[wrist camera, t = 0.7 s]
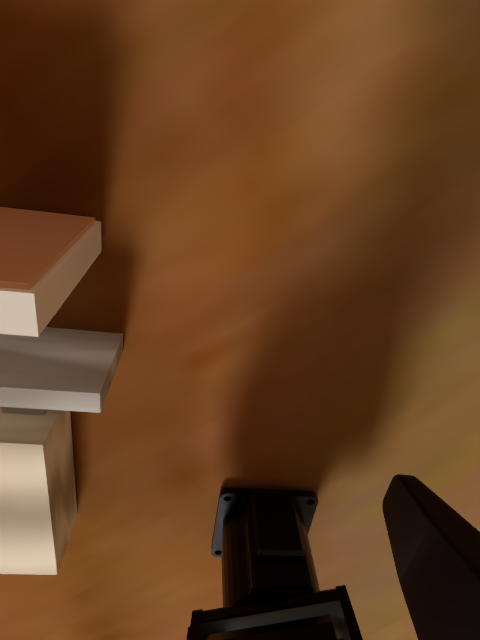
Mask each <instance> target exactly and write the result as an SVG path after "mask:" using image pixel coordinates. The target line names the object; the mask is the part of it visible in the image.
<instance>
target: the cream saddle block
mask: <svg viewBox="0 0 480 640" xmlns="http://www.w3.org/2000/svg"><path fill="white" fill-rule="evenodd" d="M122 351H123V333H112V332H100V331H88V330H76V329H64V328H52V327H45V329H44V330H43V331H42V333H41V334H40V335H39V337H35V336H22V335H10V334H0V574H42V575H57V574H58V571H59V568H60V565H61V562H62V559H63V556H64V553H65V550H66V547H67V544H68V540H69V537H70V534H71V531H72V528H73V525H74V522H75V519H76V516H77V503H76V488H75V474H74V459H73V444H72V430H71V415H70V411H80V412H96V413H101V410H102V407H103V404H104V402H105V399H106V396H107V393H108V390H109V388H110V385H111V382H112V379H113V376H114V374H115V371H116V368H117V365H118V362H119V360H120V357H121V354H122Z"/></svg>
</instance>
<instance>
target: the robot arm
mask: <svg viewBox="0 0 480 640" xmlns="http://www.w3.org/2000/svg"><path fill="white" fill-rule="evenodd" d="M317 504H318V499H317V495H316V493H314V492H305V491H282V490H258V489H234V488H226V489H223V490H222V491H221V492H220V495H219V502H218V508H217V514H216V521H215V527H214V533H213V540H212V546H211V553H212V555H213V556H215V557H222V587H223V608H217V609H211V610H205V611H203V610H202V609H200V610H194V611H192V618H191V625H190V627H188V633H187V640H363V639H362V636H361V633H360V630H359V627H358V623H357V620H356V617H355V614H354V611H353V608H352V605H351V602H350V599H349V596H348V593H347V589H346V586H345V585H342V586H336V589H330V590H324V591H320V589H319V584H318V580H317V576H316V571H315V567H314V562H313V558H312V553H311V549H310V544H309V540H308V532H309V529H310V526H311V523H312V519H313V516H314V513H315V510H316V507H317ZM383 514H384V518H385V522H386V527H387V531H388V535H389V540H390V544H391V548H392V553H393V557H394V561H395V566H396V570H397V574H398V578H399V582H400V585H401V588H402V592H403V595H404V598H405V601H406V604H407V607H408V610H409V613H410V616H411V619H412V622H413V625H414V628H415V631H416V634H417V637H418V640H480V532H479V531H478V530H477V529H476V528H475V527H473V526H472V525H471V524H470V523H469V522H468V521H466V520H465V519H464V518H463V517H462V516H461V515H459V514H458V513H457V512H456V511H455V510H454V509H452V508H451V507H450V506H449V505H448V504H447V503H445V502H444V501H443V500H442V499H441V498H440V497H438V496H437V495H436V494H435V493H434V492H433V491H431V490H430V489H429V488H428V487H427V486H426V485H424V484H423V483H422V482H421V481H420V480H419V479H417V478H416V477H414V476H412V475H400V474H398V475H395V476H394V477H393V479H392V481H391V483H390V485H389V488H388V490H387V492H386V494H385V497H384V499H383Z"/></svg>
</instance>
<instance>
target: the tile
mask: <svg viewBox="0 0 480 640" xmlns="http://www.w3.org/2000/svg"><path fill="white" fill-rule="evenodd" d="M101 251H102V243H101V221H95V217H86V216H77V215H69V214H60V213H51V212H42V211H34V210H25V209H16V208H7V207H0V334H10V335H22V336H35V337H39V335H40V334H41V333H42V331H43V330H44V329H45V327H46V326H47V325H48V323H49V322H50V321H51V319H52V318H53V316H54V315H55V314H56V312H57V311H58V310H59V308H60V307H61V306H62V304H63V303H64V302H65V300H66V299H67V297H68V296H69V295H70V293H71V292H72V291H73V289H74V288H75V287H76V285H77V284H78V283H79V281H80V280H81V279H82V277H83V276H84V274H85V273H86V272H87V270H88V269H89V268H90V266H91V265H92V264H93V262H94V261H95V260H96V258H97V257H98V255H99V254H100V253H101Z"/></svg>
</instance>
